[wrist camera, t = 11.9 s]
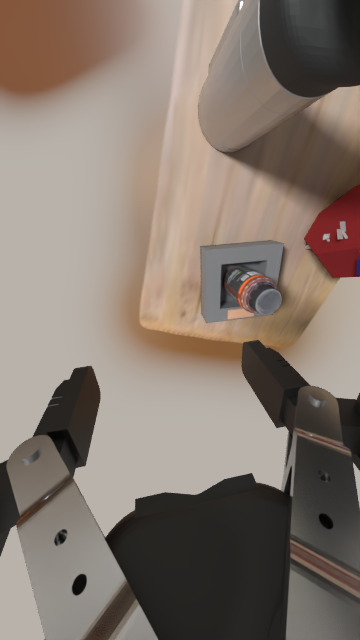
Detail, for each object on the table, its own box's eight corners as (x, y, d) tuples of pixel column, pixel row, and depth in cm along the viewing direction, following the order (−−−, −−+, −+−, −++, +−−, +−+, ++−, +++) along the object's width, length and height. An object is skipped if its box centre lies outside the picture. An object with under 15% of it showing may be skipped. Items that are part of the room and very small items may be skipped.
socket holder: (200, 246, 37) (207, 250, 33) (270, 240, 39) (284, 243, 35) (201, 313, 43) (207, 323, 39) (262, 306, 45) (273, 315, 41)
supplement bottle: (242, 299, 42) (273, 327, 32) (216, 289, 40) (240, 315, 30) (258, 271, 40) (296, 291, 30) (231, 259, 38) (263, 276, 28)
